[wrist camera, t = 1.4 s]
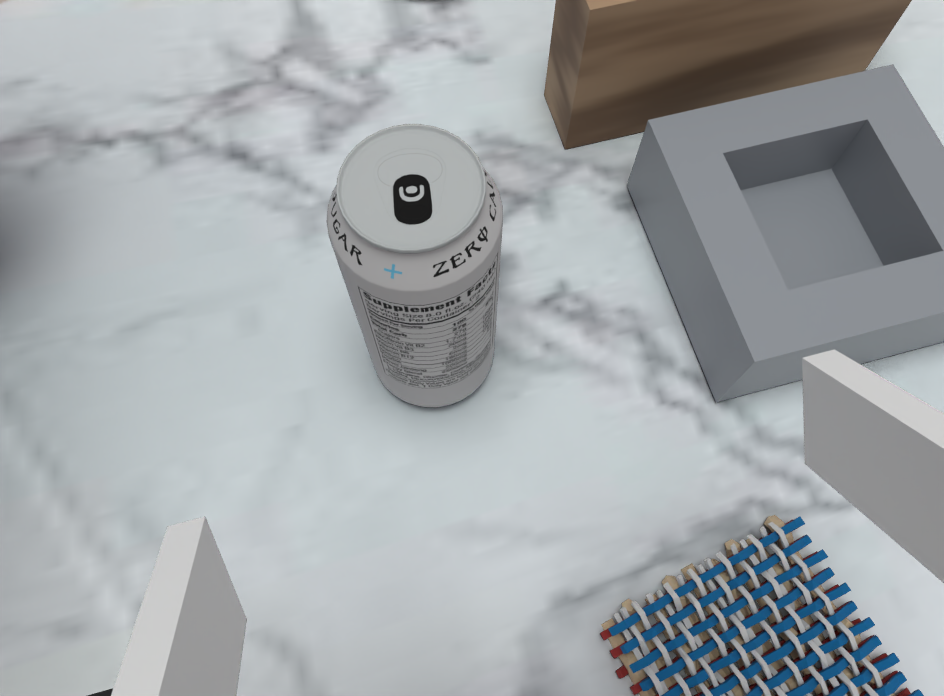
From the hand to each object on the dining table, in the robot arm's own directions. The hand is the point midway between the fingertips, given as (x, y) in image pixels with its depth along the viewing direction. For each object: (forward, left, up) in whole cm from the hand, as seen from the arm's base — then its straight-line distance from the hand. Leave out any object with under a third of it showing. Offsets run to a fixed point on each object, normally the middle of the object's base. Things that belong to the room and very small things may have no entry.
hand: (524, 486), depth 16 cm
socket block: (+3, +22, -19) cm, 29 cm away
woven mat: (+11, +3, -20) cm, 23 cm away
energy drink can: (-9, +7, -20) cm, 22 cm away
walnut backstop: (-6, +30, -19) cm, 36 cm away
